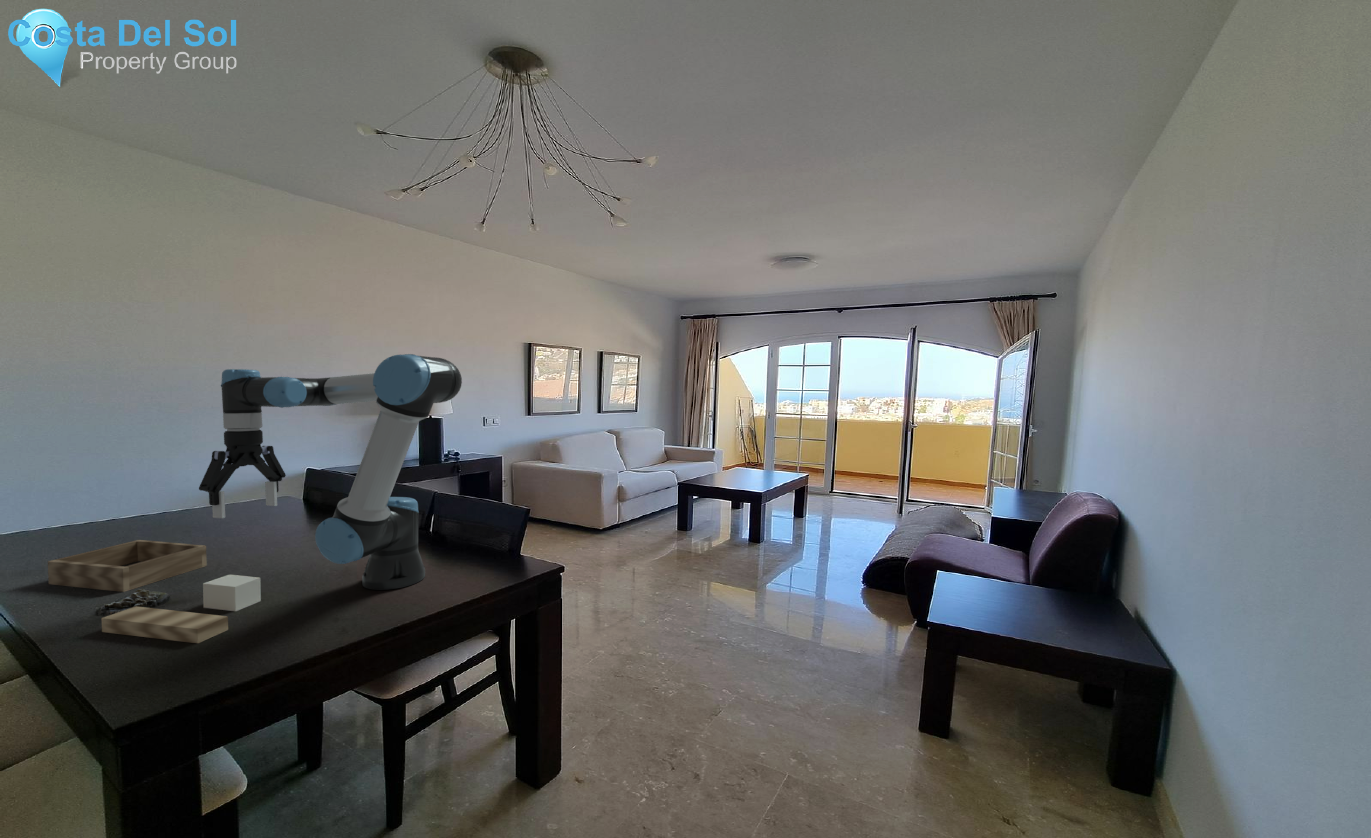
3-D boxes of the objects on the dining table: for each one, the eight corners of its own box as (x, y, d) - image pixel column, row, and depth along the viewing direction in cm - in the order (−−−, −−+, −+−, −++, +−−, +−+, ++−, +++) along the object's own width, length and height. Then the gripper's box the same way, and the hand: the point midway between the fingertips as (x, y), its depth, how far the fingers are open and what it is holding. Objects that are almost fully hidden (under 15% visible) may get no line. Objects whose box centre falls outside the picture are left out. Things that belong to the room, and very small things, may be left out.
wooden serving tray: (206, 565, 147) (206, 545, 147) (123, 591, 128) (122, 568, 127) (139, 559, 150) (138, 539, 150) (48, 584, 131) (47, 561, 131)
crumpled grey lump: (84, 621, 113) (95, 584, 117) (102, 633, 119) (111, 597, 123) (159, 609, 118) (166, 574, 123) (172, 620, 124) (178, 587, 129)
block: (260, 601, 125) (260, 577, 125) (235, 611, 119) (235, 586, 119) (229, 598, 126) (229, 574, 126) (203, 608, 121) (203, 583, 120)
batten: (228, 629, 110) (227, 616, 110) (197, 643, 104) (197, 629, 104) (136, 619, 114) (135, 606, 113) (101, 631, 108) (101, 618, 108)
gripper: (276, 426, 143) (279, 500, 144) (175, 433, 118) (180, 522, 120) (299, 426, 142) (302, 501, 143) (203, 433, 117) (207, 524, 118)
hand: (246, 511), depth 131 cm, fingers open, 13 cm apart
